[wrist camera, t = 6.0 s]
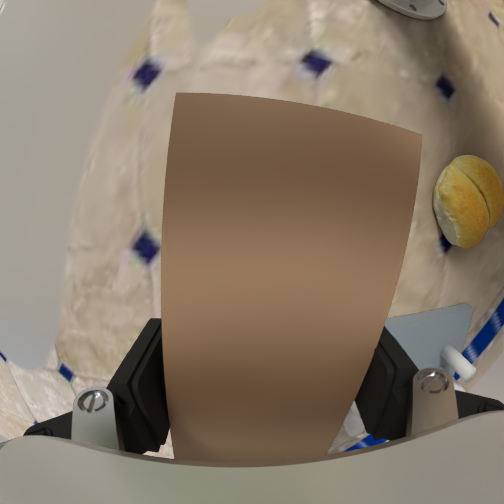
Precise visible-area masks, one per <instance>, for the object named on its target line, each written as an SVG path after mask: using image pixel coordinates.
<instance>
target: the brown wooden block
mask: <svg viewBox="0 0 504 504" xmlns="http://www.w3.org/2000/svg"><path fill="white" fill-rule="evenodd" d="M421 149H422V135H420V134H418V133H415V132H412V131H409V130H406V129H403V128H400V127H397V126H394V125H390V124H387V123H384V122H380V121H377V120H373V119H370V118H366V117H362V116H358V115H354V114H350V113H346V112H342V111H337V110H333V109H328V108H323V107H318V106H313V105H308V104H302V103H296V102H290V101H283V100H276V99H269V98H260V97H251V96H241V95H228V94H211V93H176V97H175V104H174V110H173V117H172V124H171V132H170V140H169V148H168V158H167V167H166V178H165V191H164V205H163V222H162V247H161V321H162V345H163V362H164V376H165V388H166V398H167V408H168V416H169V422H170V424H171V425H170V432H171V440H172V446H173V453H174V459H179V460H191V461H207V462H264V461H280V460H291V459H301V458H309V457H317V456H323V455H326V454H327V452H328V450H329V448H330V447H331V445H332V443H333V441H334V439H335V438H336V436H337V434H338V432H339V430H340V428H341V426H342V424H343V422H344V420H345V418H346V416H347V414H348V412H349V410H350V408H351V406H352V404H353V402H354V400H355V397H356V395H357V393H358V391H359V389H360V386H361V384H362V382H363V379H364V377H365V375H366V372H367V370H368V367H369V365H370V362H371V360H372V357H373V355H374V350H375V348H376V347H377V344H378V342H379V339H380V336H381V333H382V330H383V327H384V324H385V321H386V318H387V315H388V312H389V309H390V306H391V303H392V299H393V296H394V293H395V289H396V286H397V282H398V278H399V275H400V271H401V267H402V263H403V259H404V254H405V250H406V246H407V241H408V237H409V232H410V227H411V221H412V216H413V210H414V205H415V198H416V192H417V185H418V177H419V169H420V159H421Z"/></svg>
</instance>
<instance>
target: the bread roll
mask: <svg viewBox="0 0 504 504" xmlns="http://www.w3.org/2000/svg"><path fill="white" fill-rule="evenodd" d="M433 207H434V210H435V213H436V216H437V220H438V223H439V225H440V228H441V230H442V231H443V234H444V235H445V237H446V239H447V240H448V241H449V242H450V243H451V244H453V245H457V246H459V247H461V248H465V249H468V248H472V247H474V246H476V245H478V244H479V243H480V242H481V240H482V239H483V237H484V235H485V234H486V231H487V229H489V228H492V227H493V226H495V224H496V223H497V222H498V220H499V219H500V217H501V215H502V212H503V207H504V192H503V187H502V183H501V180H500V177H499V175H498V173H497V172H496V170H495V169H494V168H493V166H492V165H491V164H490V163H488V162H487V161H485V160H483V159H481V158H480V157H477V156H473V155H462V156H459V157H456V158H454V159H453V160H452V162H451V163H450V164H449V165H448V166H447V167H445V169H443V171H442V172H441V174H440V176H439V178H438V180H437V182H436V185H435V188H434V194H433Z"/></svg>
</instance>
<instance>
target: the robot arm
mask: <svg viewBox="0 0 504 504" xmlns="http://www.w3.org/2000/svg"><path fill="white" fill-rule="evenodd" d="M378 1H379V2H381V3H382V4H384V5H386V6H388V7H390V8H391V9H393V10H395V11H398V12H400V13H402V14H404V15H407V16H410V17H413V18H418V19H422V20H431V19H435V18H437V17H439V16H440V15H442V14H443V13H444V12H445V10H446V8H447V0H378ZM354 401H355V404H356V406H357V409H358V411H359V414H360V416H361V419H362V421H363V424H364V427H365V429H366V432H367V433H368V434H370V433H372V436H373V438H374V441H375V440H379V439H382V438H385V439H387V440H389V442H385V443H382V444H378V445H374V446H370V447H366V448H361V449H357V450H352V451H347V452H341V453H336V454H330V455H323V456H317V457H309V458H301V459H291V460H280V461H264V462H207V461H191V460H179V459H170V458H162V457H154V456H148V455H144V454H143V453H145V452H147V451H152V452H159V449H160V445H164V444H165V442H166V439H167V435H168V432H169V428H170V425H171V424H170V422H169V416H168V408H167V398H166V388H165V376H164V362H163V345H162V321H161V318H151V319H150V320H149V321H148V323H147V324H146V326H145V327H144V329H143V330H142V332H141V333H140V335H139V336H138V338H137V340H136V341H135V343H134V344H133V346H132V347H131V349H130V351H129V352H128V353H127V355H126V357H125V358H124V360H123V361H122V363H121V365H120V366H119V368H118V369H117V371H116V373H115V374H114V376H113V378H112V379H111V381H110V383H109V384H108V386H107V388H103V387H91V388H88V389H85V390H83V391H82V392H80V393H79V394H78V395H77V396H76V398H75V399H74V403H73V411H71V412H69V413H66V414H63V415H60V416H58V417H55V418H52V419H49V420H47V421H44V422H41V423H38V424H35V425H33V426H31V427H30V428H28V429H27V430H26V432H25V433H24V435H23V436H21V437H17V438H14V439H11V440H8V441H5V442H3V443H0V504H504V404H503V403H501V402H500V401H498V400H495V399H491V398H487V397H483V396H479V395H474V394H471V393H467V392H463V391H459V390H455V389H454V383H453V380H452V378H451V376H450V375H449V374H448V373H446V372H445V371H443V370H440V369H436V368H425V369H422V370H419V369H418V368H417V366H416V365H415V364H414V362H413V361H412V360H411V358H410V357H409V356H408V354H407V353H406V352H405V350H404V349H403V348H402V346H401V345H400V344H399V343H398V341H397V340H396V339H395V337H394V336H393V335H391V333H390V332H389V331H388V330H387V328H386V327H385V326H384V327H383V330H382V333H381V336H380V339H379V342H378V344H377V347H376V348H375V350H374V355H373V357H372V360H371V362H370V365H369V367H368V370H367V372H366V375H365V377H364V379H363V382H362V384H361V386H360V389H359V391H358V393H357V395H356V397H355V400H354Z"/></svg>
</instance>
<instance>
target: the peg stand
mask: <svg viewBox="0 0 504 504" xmlns="http://www.w3.org/2000/svg"><path fill="white" fill-rule="evenodd" d="M473 311H474V308H473V307H472V306H471V305H469V304H468V303H463V304H458V305H454V306H450V307H445V308H440V309H436V310H431V311H426V312H421V313H415V314H410V315H405V316H399V317H393V318H387V319H386V321H385V324H384V326H385V327H386V328H387V330H388V331H389V332H390V333H391V335H393V336H394V337H395V339H396V340H397V341H398V343H399V344H400V345H401V346H402V348H403V349H404V350H405V352H406V353H407V354H408V356H409V357H410V358H411V360H412V361H413V362H414V364H415V365H416V366H417V368H418V369H419V370H422V369H425V368H436V369H440V370H443V371H445V372H446V373H448V374H449V375H450V376H451V378H452V380H453V383H454V389H455V390H459V391H463V392H466V391H465V390H464V389H463V387H462V386H461V385H460V384H459V383H458V382H457V381H456V380H455V378H454V377H453V376H454V374H455V371H456V372H457V373H458V374H459V375H460V376H461V378H462V379H463V380H464V381H465V382H468V381H469V380H471V379H472V378H473V377H474V375H475V373H476V368H475V367H474V366H473V365H472V364H471V363H470V362H469V361H468V360H467V359H466V358H464V357H463V356H462V355H461V354H462V350H463V347H464V344H465V341H466V337H467V334H468V330H469V327H470V323H471V319H472V315H473ZM343 424H344V427H345V430H346V433H347V435H348V436H349V437H354V436H357V435H359V434H361V433H362V432H363V431H364V429H365V428H364V425H363V423H362V420H361V416H360V414H359V411H358V409H357V406H356V404H355V401H354V402H353V404H352V406H351V408H350V410H349V412H348V414H347V416H346V418H345V420H344V422H343Z"/></svg>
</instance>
